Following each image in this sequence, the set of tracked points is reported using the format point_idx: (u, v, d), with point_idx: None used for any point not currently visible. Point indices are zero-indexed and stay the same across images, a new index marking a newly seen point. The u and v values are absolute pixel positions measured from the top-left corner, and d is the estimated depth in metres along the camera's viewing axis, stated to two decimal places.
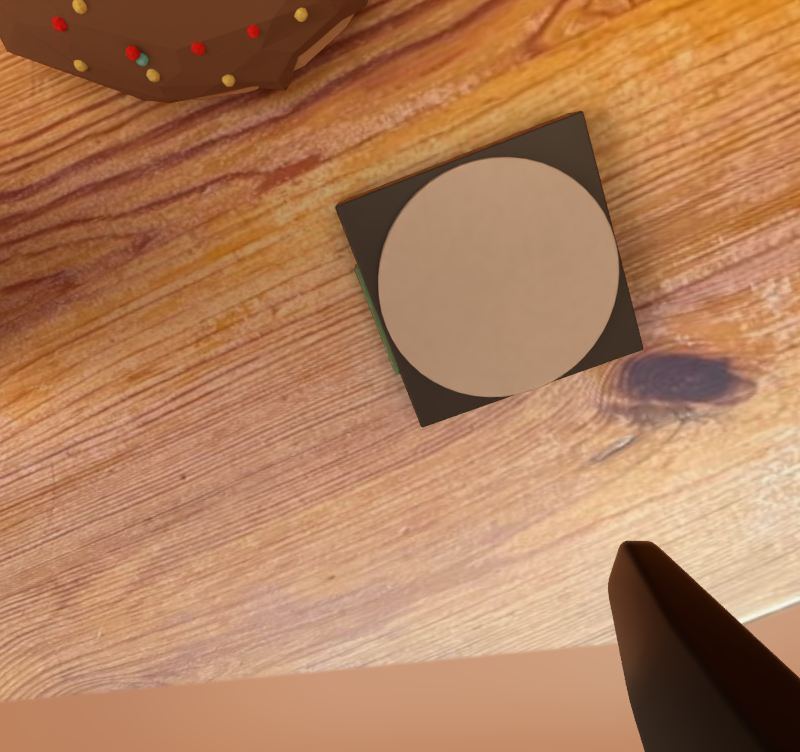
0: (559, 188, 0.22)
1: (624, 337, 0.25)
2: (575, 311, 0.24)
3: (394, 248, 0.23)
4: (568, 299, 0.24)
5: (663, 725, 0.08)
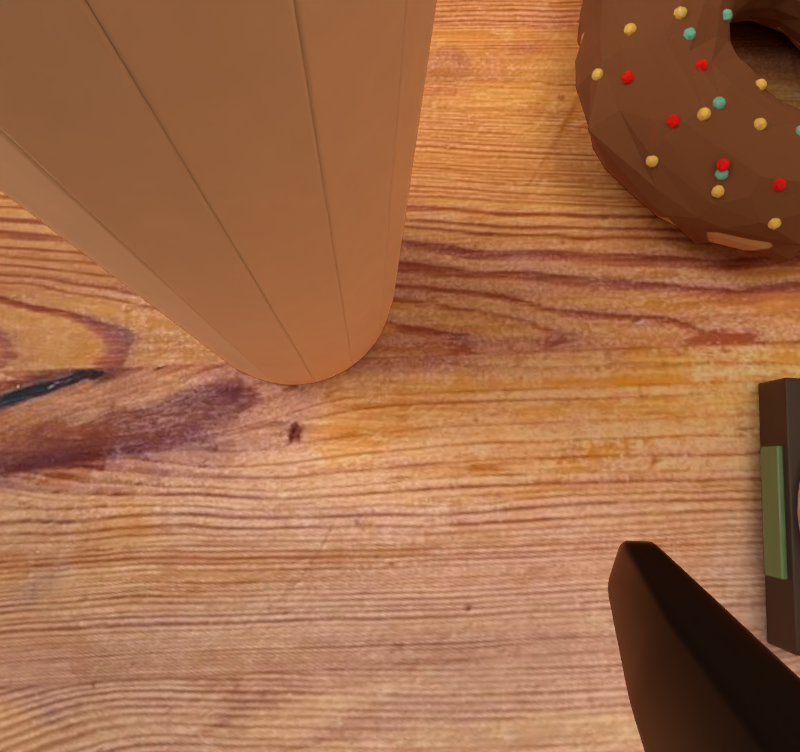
0: None
1: None
2: None
3: None
4: None
5: (663, 725, 0.08)
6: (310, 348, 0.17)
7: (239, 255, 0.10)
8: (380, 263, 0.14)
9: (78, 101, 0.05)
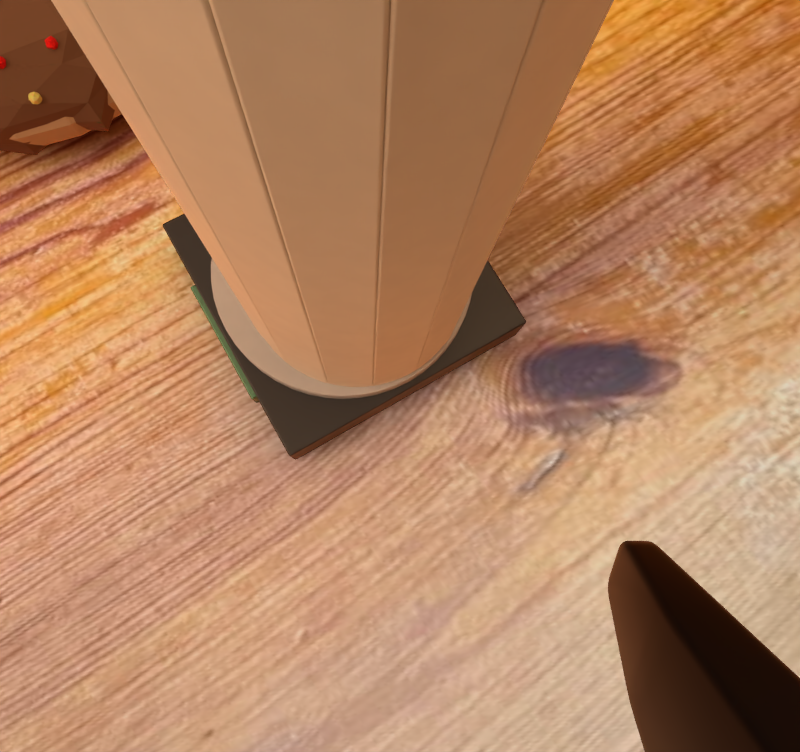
0: None
1: (500, 311, 0.22)
2: None
3: None
4: None
5: (663, 725, 0.08)
6: (389, 335, 0.15)
7: (380, 159, 0.07)
8: (496, 232, 0.12)
9: None
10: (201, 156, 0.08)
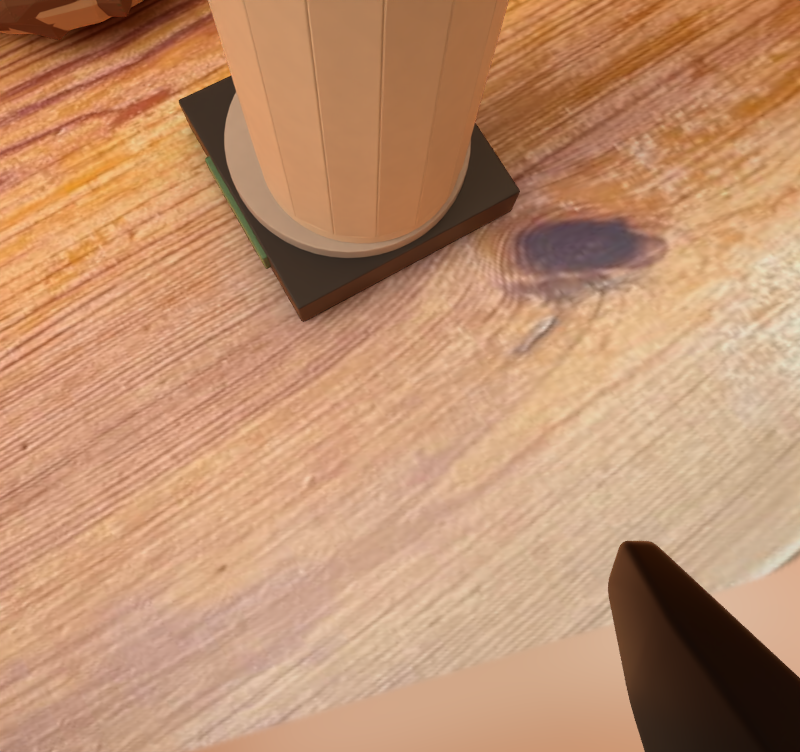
0: None
1: (496, 181, 0.24)
2: None
3: (236, 116, 0.23)
4: None
5: (663, 725, 0.08)
6: (392, 143, 0.16)
7: None
8: (489, 11, 0.14)
9: None
10: None
